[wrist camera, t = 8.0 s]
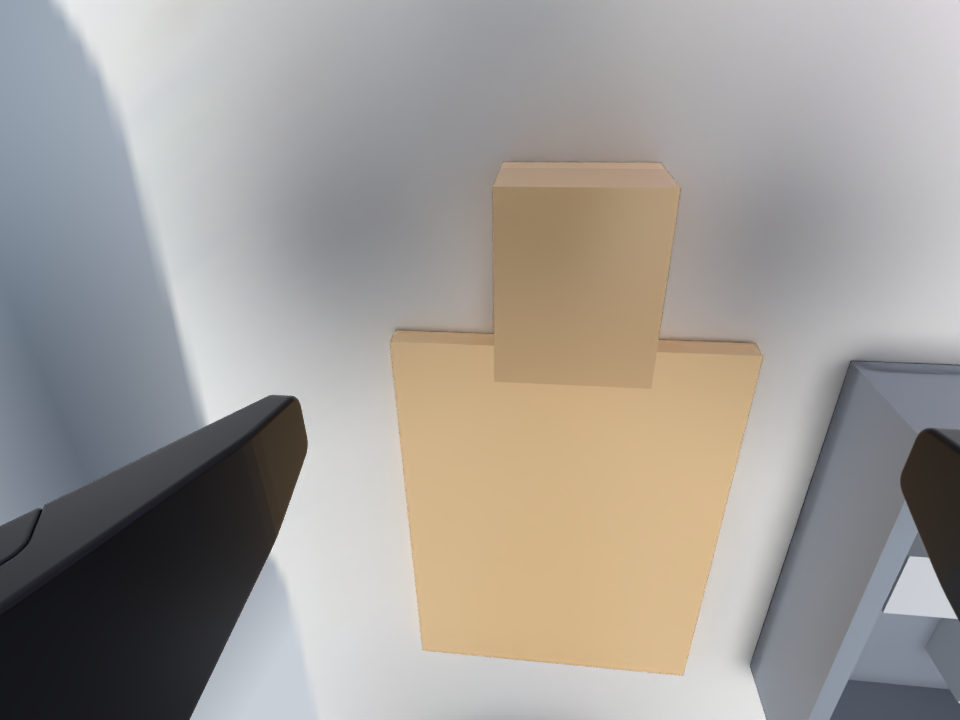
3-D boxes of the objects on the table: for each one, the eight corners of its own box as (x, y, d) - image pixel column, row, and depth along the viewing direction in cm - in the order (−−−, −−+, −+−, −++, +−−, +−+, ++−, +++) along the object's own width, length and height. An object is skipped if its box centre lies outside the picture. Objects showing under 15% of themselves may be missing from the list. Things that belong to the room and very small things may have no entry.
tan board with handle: (679, 657, 24) (693, 727, 21) (426, 633, 25) (412, 697, 23) (798, 162, 14) (847, 189, 12) (379, 161, 15) (346, 185, 13)
